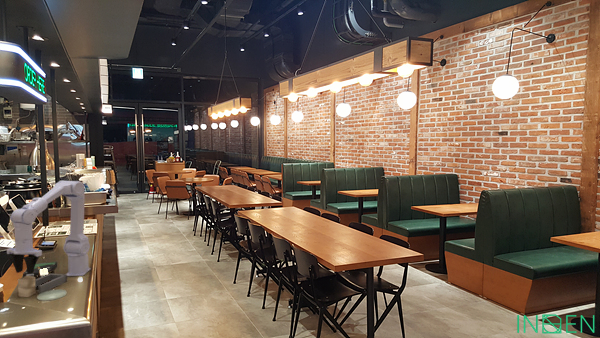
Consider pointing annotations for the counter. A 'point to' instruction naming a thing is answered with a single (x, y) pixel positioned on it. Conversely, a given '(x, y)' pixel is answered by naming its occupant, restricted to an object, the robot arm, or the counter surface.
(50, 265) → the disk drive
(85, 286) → the counter surface
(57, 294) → the saucer
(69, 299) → the counter surface
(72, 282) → the counter surface
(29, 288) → the maple block
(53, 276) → the slot rack
